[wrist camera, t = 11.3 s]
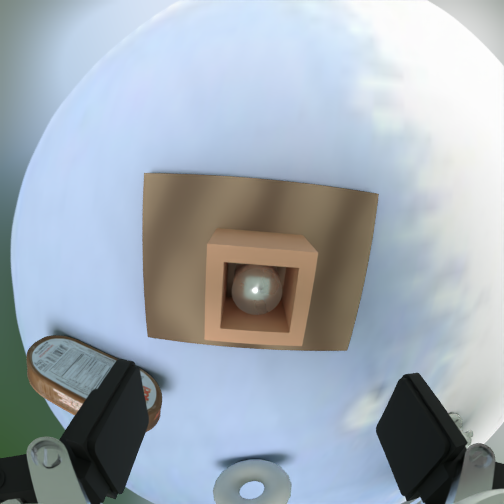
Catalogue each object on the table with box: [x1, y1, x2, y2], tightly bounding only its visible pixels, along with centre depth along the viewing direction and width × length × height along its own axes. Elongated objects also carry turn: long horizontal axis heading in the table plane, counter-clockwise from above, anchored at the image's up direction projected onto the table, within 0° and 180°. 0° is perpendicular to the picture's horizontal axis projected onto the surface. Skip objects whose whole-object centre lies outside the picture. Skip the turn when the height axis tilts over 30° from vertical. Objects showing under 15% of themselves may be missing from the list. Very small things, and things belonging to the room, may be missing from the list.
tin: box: [27, 335, 162, 432], centre depth 22 cm, size 15×3×8 cm, turn 71°
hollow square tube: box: [204, 228, 318, 346], centre depth 19 cm, size 6×6×5 cm
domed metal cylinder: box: [232, 263, 282, 315], centre depth 20 cm, size 3×3×4 cm
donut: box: [213, 459, 291, 504], centre depth 26 cm, size 10×3×10 cm, turn 104°
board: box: [143, 173, 379, 351], centre depth 23 cm, size 18×14×2 cm
